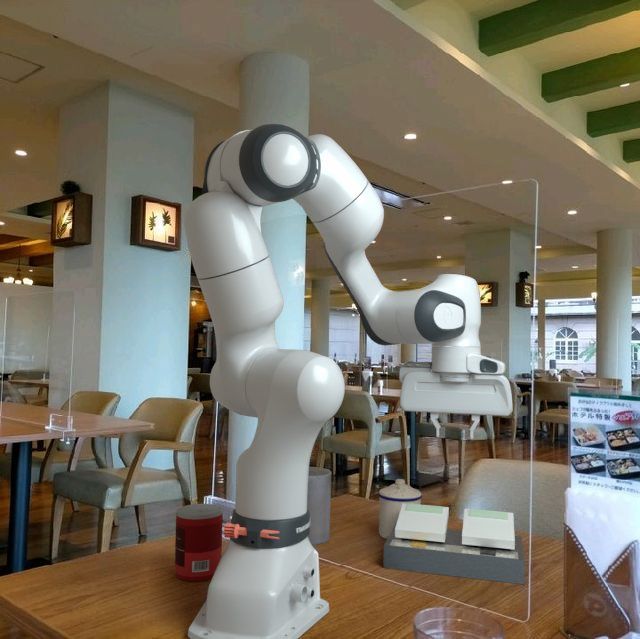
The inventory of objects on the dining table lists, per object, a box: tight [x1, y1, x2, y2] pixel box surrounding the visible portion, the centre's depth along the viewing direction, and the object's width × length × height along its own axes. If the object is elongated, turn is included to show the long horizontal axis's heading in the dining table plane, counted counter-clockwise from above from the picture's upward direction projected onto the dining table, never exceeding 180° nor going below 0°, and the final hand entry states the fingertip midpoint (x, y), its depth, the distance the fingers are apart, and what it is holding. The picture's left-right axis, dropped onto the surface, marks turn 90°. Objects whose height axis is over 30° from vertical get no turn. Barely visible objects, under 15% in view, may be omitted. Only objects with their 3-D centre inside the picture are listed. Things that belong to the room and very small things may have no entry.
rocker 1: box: [395, 503, 450, 542], centre depth 118 cm, size 10×9×2 cm
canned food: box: [174, 503, 224, 583], centre depth 108 cm, size 8×8×11 cm
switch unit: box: [383, 525, 526, 585], centre depth 115 cm, size 14×24×5 cm, turn 74°
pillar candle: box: [307, 465, 332, 546], centre depth 128 cm, size 10×10×15 cm
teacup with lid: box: [377, 478, 423, 540], centre depth 132 cm, size 12×9×12 cm
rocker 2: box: [462, 508, 516, 550], centre depth 115 cm, size 10×9×2 cm
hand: (454, 438), depth 114 cm, fingers open, 4 cm apart
